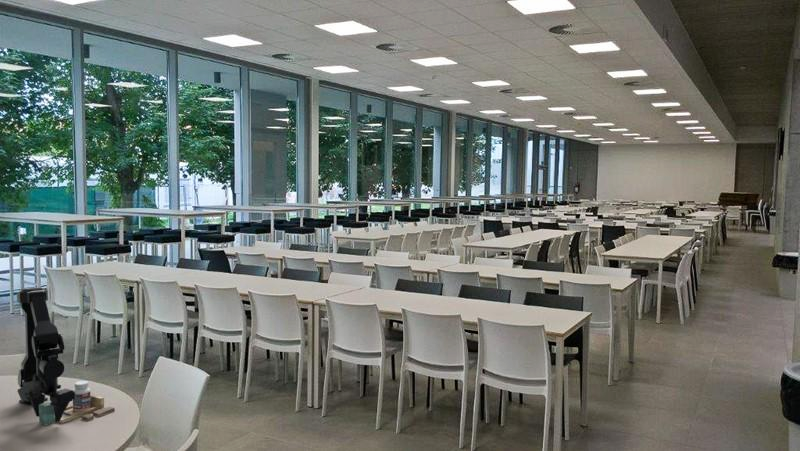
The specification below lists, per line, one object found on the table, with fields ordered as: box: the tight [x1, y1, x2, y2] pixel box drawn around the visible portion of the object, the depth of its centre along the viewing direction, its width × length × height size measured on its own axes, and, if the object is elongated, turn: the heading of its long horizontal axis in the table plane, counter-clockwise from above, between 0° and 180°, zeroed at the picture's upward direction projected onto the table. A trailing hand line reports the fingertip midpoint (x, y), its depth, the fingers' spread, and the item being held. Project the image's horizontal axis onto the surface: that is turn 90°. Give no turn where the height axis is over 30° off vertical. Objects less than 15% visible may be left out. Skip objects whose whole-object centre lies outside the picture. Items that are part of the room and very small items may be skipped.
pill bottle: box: [72, 380, 91, 411], centre depth 209 cm, size 5×5×9 cm
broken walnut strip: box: [81, 406, 115, 422], centre depth 206 cm, size 3×10×1 cm, turn 154°
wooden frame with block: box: [38, 393, 105, 426], centre depth 206 cm, size 9×19×6 cm, turn 154°
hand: (48, 418), depth 199 cm, fingers open, 9 cm apart
